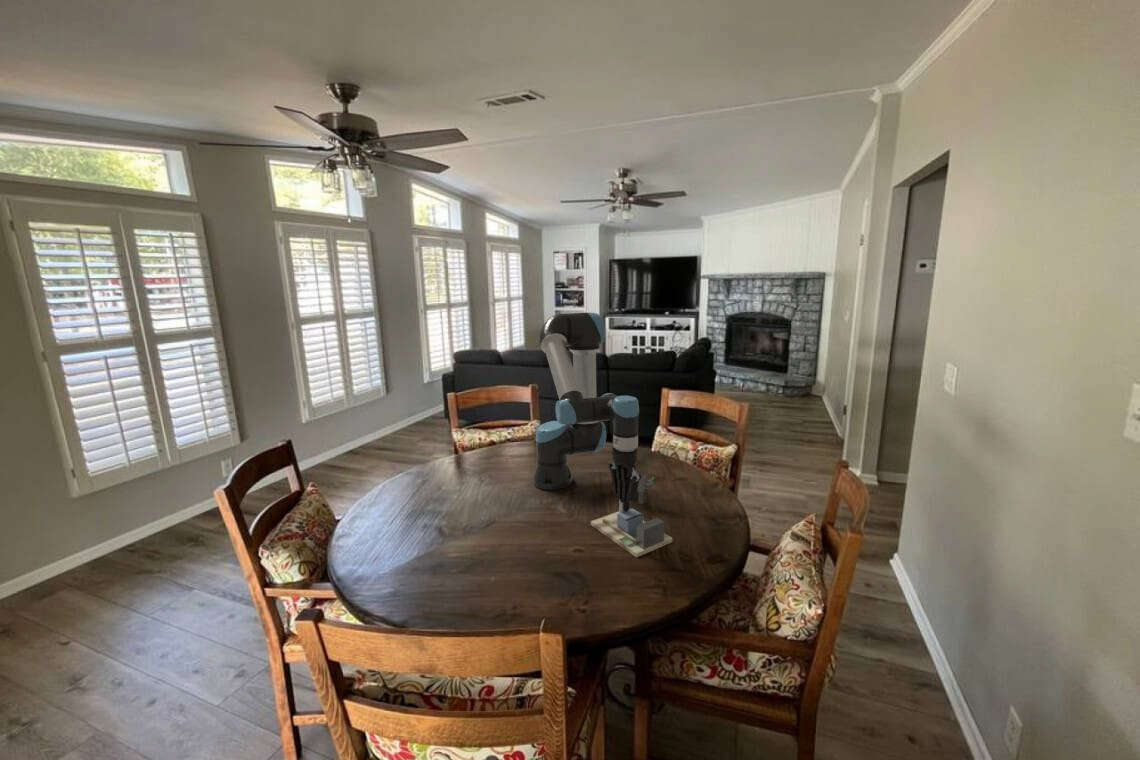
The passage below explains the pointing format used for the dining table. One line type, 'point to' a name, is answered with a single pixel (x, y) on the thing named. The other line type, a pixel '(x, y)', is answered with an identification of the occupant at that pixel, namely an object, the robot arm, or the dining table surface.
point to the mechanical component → (644, 486)
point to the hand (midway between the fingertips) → (623, 518)
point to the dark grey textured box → (650, 533)
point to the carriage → (629, 520)
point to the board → (624, 535)
